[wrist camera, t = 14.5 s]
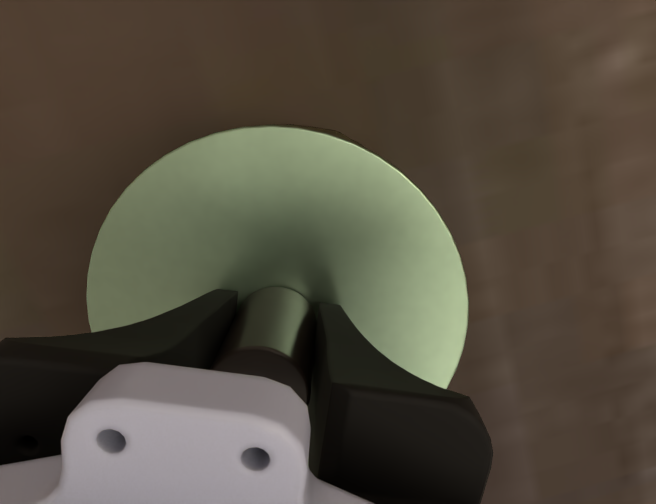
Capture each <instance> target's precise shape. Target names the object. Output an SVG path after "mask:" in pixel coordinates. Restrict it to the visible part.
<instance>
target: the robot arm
mask: <svg viewBox="0 0 656 504" xmlns="http://www.w3.org/2000/svg"><path fill="white" fill-rule="evenodd" d="M237 300H238V291H230V290H223V289H215V290H213V291H210V292H208V293H206V294H204V295H202V296H200V297H198V298H196V299H194V300H192V301H190V302H188V303H186V304H184V305H182V306H179V307H177V308H175V309H172V310H170V311H167V312H165V313H163V314H160V315H158V316H155V317H152V318H150V319H147V320H144V321H140V322H137V323H133V324H130V325H126V326H122V327H117V328H112V329H107V330H103V331H98V332H92V333H85V334H77V335H67V336H56V337H30V338H5V339H4V340H2V341H1V342H0V504H480V503H481V500H482V496H483V493H484V490H485V486H486V483H487V479H488V476H489V473H490V469H491V464H492V457H493V450H492V444H491V439H490V436H489V434H488V432H487V430H486V427H485V425H484V423H483V421H482V419H481V417H480V415H479V413H478V411H477V409H476V408H475V406H474V404H473V402H472V401H471V399H470V397H468V396H465V395H462V394H459V393H456V392H453V391H450V390H447V389H444V388H441V387H439V386H436V385H434V384H432V383H430V382H427V381H425V380H423V379H421V378H419V377H417V376H415V375H413V374H411V373H410V372H408V371H406V370H405V369H403V368H401V367H400V366H398V365H397V364H395V363H394V362H392V361H391V360H390V359H388V358H387V357H386V356H385V355H383V354H382V353H381V352H380V351H378V350H377V349H376V348H375V347H374V346H373V345H372V344H371V343H370V342H369V341H368V340H367V339H366V338H365V337H364V336H363V335H362V334H361V332H360V331H359V330H358V329H357V328H356V326H355V325H354V324H353V322H352V321H351V320H350V318H349V317H348V315H347V314H346V312H345V311H344V310H343V308H342V307H341V305H337V304H329V303H322V302H320V303H319V310H318V317H317V324H316V334H315V351H314V363H313V374H312V385H311V396H310V402H309V406H308V408H307V405H306V404H305V403H304V401H303V400H302V399H301V398H300V397H299V396H298V395H297V394H296V393H295V391H294V390H293V389H292V388H291V387H290V386H287V385H285V384H282V383H279V382H276V381H274V380H271V379H268V378H266V377H261V376H253V375H245V374H237V373H229V372H222V371H214V370H210V369H211V366H212V364H213V362H214V360H215V358H216V356H217V354H218V352H219V350H220V347H221V345H222V343H223V341H224V339H225V337H226V335H227V333H228V331H229V328H230V326H231V324H232V322H233V320H234V318H235V316H236V312H237ZM308 458H309V459H308Z"/></svg>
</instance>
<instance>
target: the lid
mask: <svg viewBox="0 0 656 504" xmlns="http://www.w3.org/2000/svg"><path fill="white" fill-rule="evenodd" d="M215 289H223V290H230V291H238V300H237V312H236V316H235V318H234V320H233V322H232V324H231V326H230V328H229V331H228V333H227V335H226V337H225V339H224V341H223V343H222V345H221V347H220V350H219V352H218V354H217V356H216V358H215V360H214V362H213V364H212V366H211V369H210V370H214V371H222V372H229V373H237V374H245V375H253V376H261V377H266V378H268V379H271V380H274V381H276V382H279V383H282V384H285V385H287V386H290V387H291V388H292V389H293V390H294V391H295V393H296V394H297V395H298V396H299V397H300V398H301V399H302V400H303V401H304V403H305V404H306V405H307V408H308V406H309V402H310V396H311V385H312V374H313V363H314V351H315V334H316V324H317V317H318V310H319V303H320V302H322V303H329V304H337V305H341V307H342V308H343V310H344V311H345V312H346V314H347V315H348V317H349V318H350V320H351V321H352V322H353V324H354V325H355V326H356V328H357V329H358V330H359V331H360V332H361V334H362V335H363V336H364V337H365V338H366V339H367V340H368V341H369V342H370V343H371V344H372V345H373V346H374V347H375V348H376V349H377V350H378V351H380V352H381V353H382V354H383V355H385V356H386V357H387V358H388V359H390V360H391V361H392V362H394V363H395V364H397V365H398V366H400V367H401V368H403V369H405V370H406V371H408V372H410V373H411V374H413V375H415V376H417V377H419V378H421V379H423V380H425V381H427V382H430V383H432V384H434V385H436V386H439V387H441V388H444V389H447V387H448V385H449V383H450V381H451V379H452V377H453V375H454V373H455V371H456V369H457V366H458V363H459V360H460V357H461V354H462V351H463V348H464V344H465V339H466V333H467V327H468V311H469V298H468V289H467V281H466V275H465V271H464V268H463V264H462V260H461V256H460V253H459V251H458V248H457V246H456V244H455V241H454V239H453V237H452V234H451V232H450V230H449V229H448V227H447V225H446V224H445V222H444V220H443V219H442V217H441V215H440V214H439V212H438V210H437V209H436V208H435V207H434V205H433V204H432V203H431V202H430V200H429V199H428V198H427V197H426V196H425V194H424V193H423V192H422V191H421V189H420V188H419V187H418V186H417V185H416V184H414V183H413V182H412V181H411V180H410V179H409V178H408V177H407V176H406V175H405V174H404V173H403V172H402V171H400V170H399V169H398V168H397V167H395V166H394V165H392V164H391V163H389V162H388V161H387V160H385V159H384V158H382V157H381V156H379V155H378V154H376V153H374V152H373V151H371V150H369V149H367V148H365V147H363V146H361V145H359V144H357V143H355V142H353V141H350V140H348V139H345V138H342V137H339V136H336V135H333V134H331V133H328V132H324V131H319V130H314V129H309V128H304V127H299V126H285V125H258V126H244V127H240V128H235V129H230V130H225V131H220V132H216V133H213V134H210V135H207V136H204V137H202V138H199V139H196V140H193V141H190V142H188V143H186V144H184V145H182V146H181V147H179V148H177V149H175V150H173V151H171V152H169V153H167V154H165V155H164V156H163V157H161V158H160V159H159V160H157V161H156V162H154V163H153V164H152V165H150V166H149V167H148V168H146V169H145V170H144V171H143V172H142V173H141V174H140V175H139V176H138V177H137V178H136V179H135V180H134V181H133V182H132V183H131V184H130V185H129V186H128V187H127V188H126V189H125V190H124V192H123V193H122V194H121V196H120V197H119V198H118V200H117V201H116V202H115V204H114V205H113V206H112V208H111V209H110V211H109V213H108V215H107V217H106V219H105V221H104V222H103V224H102V226H101V228H100V231H99V233H98V236H97V239H96V242H95V245H94V247H93V250H92V255H91V260H90V265H89V270H88V276H87V297H86V298H87V308H88V318H89V324H90V328H91V332H98V331H103V330H107V329H112V328H117V327H122V326H126V325H130V324H133V323H137V322H140V321H144V320H147V319H150V318H152V317H155V316H158V315H160V314H163V313H165V312H167V311H170V310H172V309H175V308H177V307H179V306H182V305H184V304H186V303H188V302H190V301H192V300H194V299H196V298H198V297H200V296H202V295H204V294H206V293H208V292H210V291H213V290H215ZM308 459H309V458H308Z"/></svg>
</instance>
